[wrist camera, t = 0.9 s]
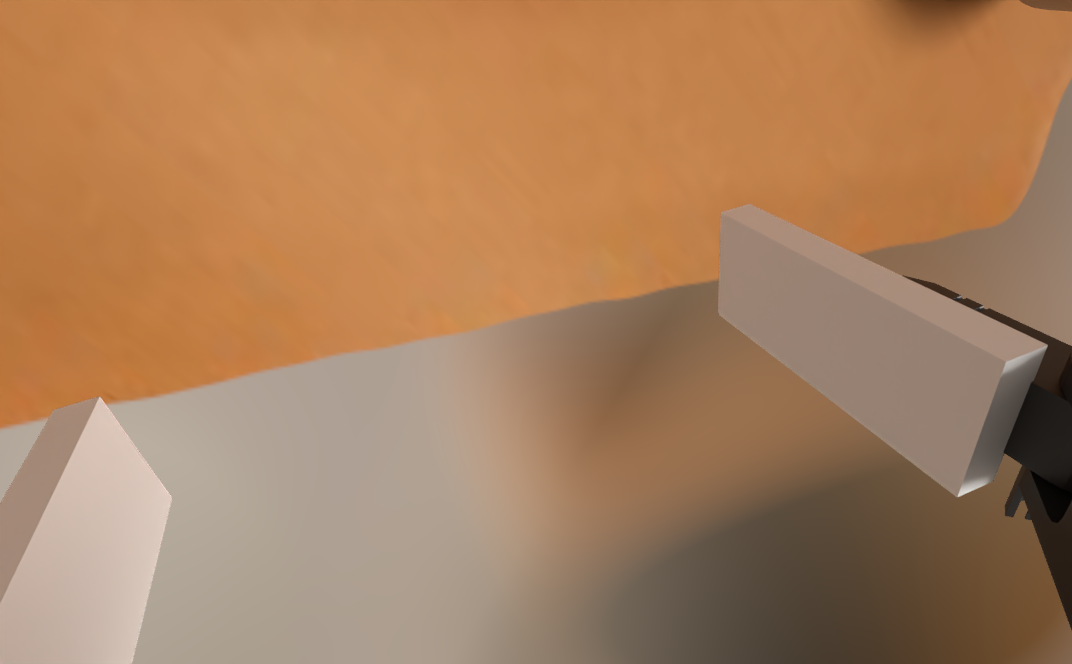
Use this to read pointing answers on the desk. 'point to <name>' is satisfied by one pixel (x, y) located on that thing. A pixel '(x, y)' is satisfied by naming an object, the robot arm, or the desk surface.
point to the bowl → (1050, 4)
